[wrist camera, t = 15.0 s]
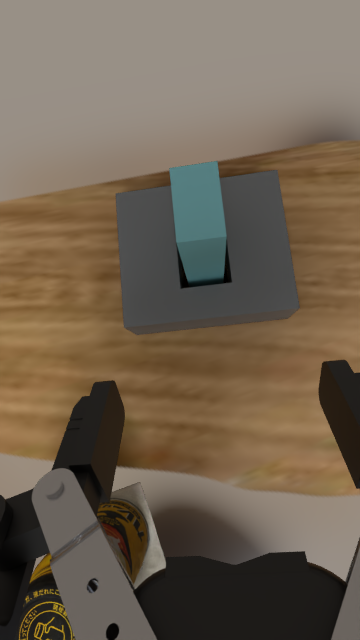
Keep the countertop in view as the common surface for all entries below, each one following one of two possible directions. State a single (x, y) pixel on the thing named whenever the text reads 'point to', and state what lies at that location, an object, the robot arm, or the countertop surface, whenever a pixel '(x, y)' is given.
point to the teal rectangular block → (199, 222)
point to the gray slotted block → (241, 259)
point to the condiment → (128, 541)
